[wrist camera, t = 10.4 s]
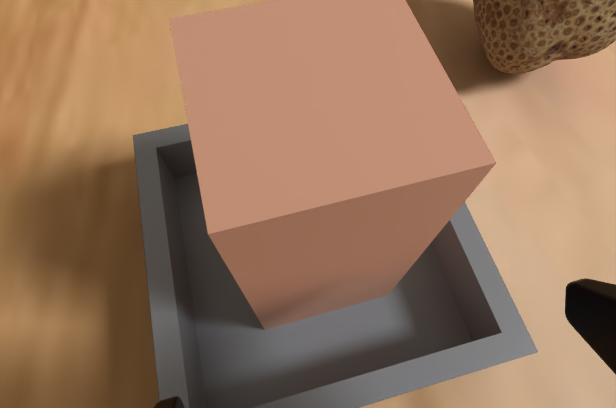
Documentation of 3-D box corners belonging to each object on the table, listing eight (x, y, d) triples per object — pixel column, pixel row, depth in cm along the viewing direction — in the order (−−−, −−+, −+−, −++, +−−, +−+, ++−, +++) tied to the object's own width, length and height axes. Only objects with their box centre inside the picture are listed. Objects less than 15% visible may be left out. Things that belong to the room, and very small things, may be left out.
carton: (387, 295, 19) (496, 162, 8) (264, 330, 18) (208, 234, 8) (348, 187, 22) (393, -22, 11) (239, 214, 21) (169, 18, 10)
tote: (389, 125, 25) (404, 78, 21) (493, 360, 19) (537, 351, 15) (159, 176, 23) (132, 135, 19) (195, 452, 17) (166, 466, 14)
